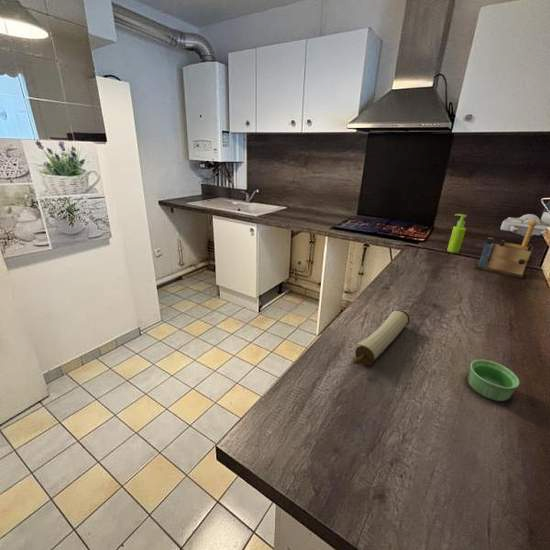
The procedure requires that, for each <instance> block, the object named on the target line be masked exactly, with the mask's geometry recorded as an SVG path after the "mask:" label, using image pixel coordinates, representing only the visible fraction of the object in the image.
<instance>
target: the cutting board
mask: <svg viewBox="0 0 550 550" xmlns="http://www.w3.org/2000/svg"><path fill="white" fill-rule="evenodd" d="M493 241H494V238H493V237H489V236H488V237H487V240H486V242H485V243H484V246H483V249H482V252H481V256H480V258H479V262H478V263H477V265H476V268H475V269H476V270H481V271H484V272H489V273H494V274H499V275H502V276H507V277H512V278H517V279H521V280H522V279H523V278H524V272H525V270H526V266H527V264H528V262H529V259H530V257H531V254H532V252H533V249H532V247H533V248H534V245H533V244H532V243H528V245H527V246H529V247H528V249H527V250H526V249H521V248H515V247H509V246H503V245H504V243H506V239H501V240H500V241H501V242H500V244H497V243H494V242H493ZM531 249H532V250H531Z"/></svg>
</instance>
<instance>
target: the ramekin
mask: <svg viewBox="0 0 550 550" xmlns="http://www.w3.org/2000/svg"><path fill="white" fill-rule="evenodd" d="M467 381H468V384H469V386H470V388H472V389H473V390H474V391H475V392H476V393H477V394H479V395H481V396H482V397H485V398H486V399H489V400H493V401H496V402H504V401H508V400H510V398H511V397H512V395H513V394H514V392H515V391H516V389H517V388H518V387H519V386H520V383H521V382H520V379H519V377H518V376H517V374H515V373H514V371H512V370H511V369H510V368H507V367H506V366H504V365H502V364H501V363H498V362H495V361H492V360H487V359H475V360H472V361H471V363H470V365H469V373H468V377H467Z"/></svg>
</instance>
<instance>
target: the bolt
mask: <svg viewBox="0 0 550 550" xmlns="http://www.w3.org/2000/svg"><path fill="white" fill-rule="evenodd" d="M536 225H537V222H536V221H535V220H532V221H530V222H529V227H528V230H527V232H526V235H525V236H524V237H523V241H522V243H521V244H518V243H517V244H516V243H511V242H505V243H504V245H503V246H508V247H514V248H520V249H526V250H527V249H528V247H529V246H528V245H529V242H530V239H531V237H532V236H531V234H532V232H533V229H534V227H535V226H536ZM533 249H534V246H533V247H532V249H531V251H533Z"/></svg>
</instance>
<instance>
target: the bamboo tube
mask: <svg viewBox="0 0 550 550" xmlns="http://www.w3.org/2000/svg"><path fill="white" fill-rule="evenodd" d="M410 322H411V319H410V315H409V314H408V313H407V312H406V311H404V310H400V309H399V310H393V311H392V312H391V313H390V314H389V316H388V317H387V318H386V319H385V321H384V322H383V323H382V324H381V325H380V326H379V327H378V328H377V329H376V330H375V331H374V332H373V333H371V334H370V335H369V336H368V337H365V338H364V339H362V340H361V341H359V342H357V345H358V347H356V349H355V351H354V352H355V357H356V358H354V360H353V363H354V364H355V365H358V364H360V363H361V364H363V365H365V366H370V365H372V364H374V362H375V360H376V359H377V358H378V357H379V356H380V355H381V354H382V353H383V352H384V351H385V350H386V349H387V348H388V347H389V346H390V345H391V343H392V342H393V341H394V340H395V339H396V338H397V337H398V335H400V333H401V332H402V331H403V329H404V328H405V327H406V326H407V325H409V324H410Z"/></svg>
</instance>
